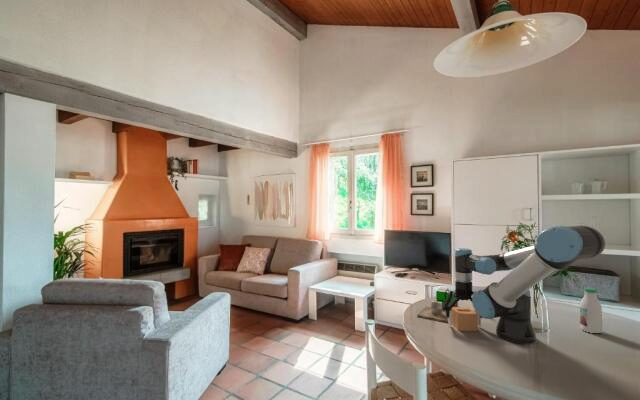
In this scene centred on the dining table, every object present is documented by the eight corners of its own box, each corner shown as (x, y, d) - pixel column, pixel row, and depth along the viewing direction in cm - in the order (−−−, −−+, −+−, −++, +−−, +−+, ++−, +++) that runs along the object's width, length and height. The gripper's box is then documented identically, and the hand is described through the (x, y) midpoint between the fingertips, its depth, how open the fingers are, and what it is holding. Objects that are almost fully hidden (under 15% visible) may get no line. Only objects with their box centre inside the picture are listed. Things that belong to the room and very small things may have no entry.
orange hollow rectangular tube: (469, 323, 153) (469, 307, 153) (477, 331, 144) (477, 313, 144) (451, 323, 154) (451, 307, 154) (458, 330, 145) (457, 313, 145)
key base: (455, 313, 167) (455, 300, 167) (449, 323, 154) (449, 309, 154) (425, 308, 176) (425, 295, 176) (417, 316, 163) (417, 303, 163)
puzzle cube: (458, 306, 178) (457, 289, 179) (455, 311, 170) (455, 293, 170) (439, 303, 184) (439, 286, 184) (436, 308, 175) (436, 291, 175)
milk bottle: (602, 330, 143) (601, 288, 143) (602, 336, 138) (601, 291, 138) (580, 326, 148) (580, 285, 149) (579, 331, 143) (579, 288, 143)
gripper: (486, 278, 152) (487, 321, 152) (435, 278, 154) (435, 320, 154) (494, 282, 144) (494, 328, 144) (439, 282, 146) (440, 326, 146)
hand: (464, 324), depth 149 cm, fingers open, 13 cm apart
